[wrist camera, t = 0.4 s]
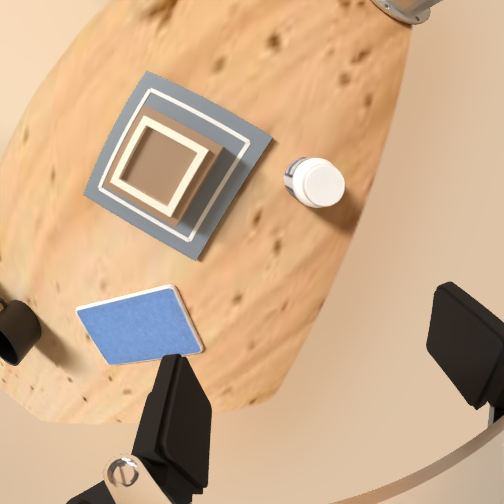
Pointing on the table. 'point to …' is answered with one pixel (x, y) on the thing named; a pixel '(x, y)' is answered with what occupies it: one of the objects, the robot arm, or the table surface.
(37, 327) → the mug
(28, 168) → the table surface
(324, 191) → the pill bottle
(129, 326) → the blue rectangular panel
